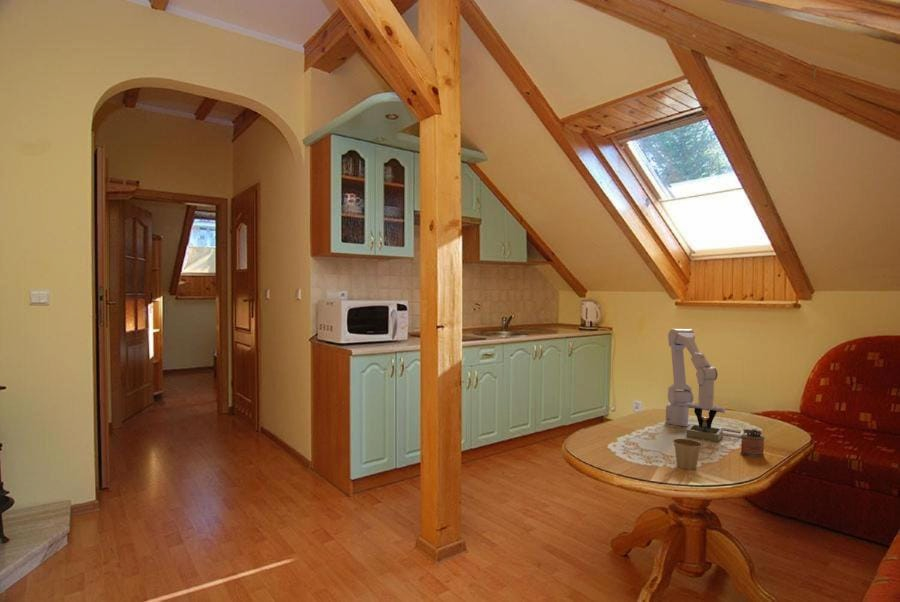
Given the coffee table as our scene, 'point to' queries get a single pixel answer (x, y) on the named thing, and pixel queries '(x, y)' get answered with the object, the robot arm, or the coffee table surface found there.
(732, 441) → the coffee table surface
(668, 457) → the coffee table surface
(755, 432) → the lighter
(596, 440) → the coffee table surface
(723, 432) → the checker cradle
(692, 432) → the bin
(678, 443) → the flower pot
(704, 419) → the cylinder
